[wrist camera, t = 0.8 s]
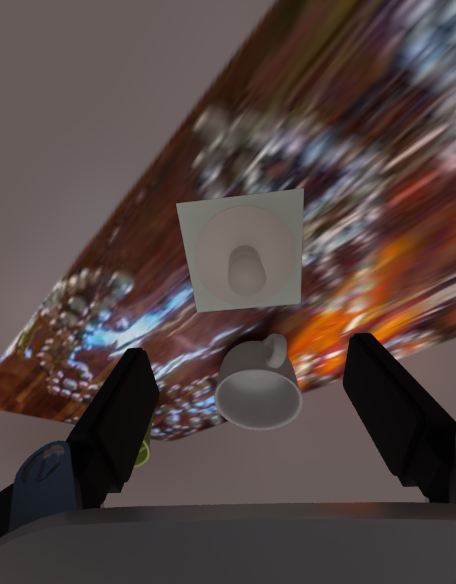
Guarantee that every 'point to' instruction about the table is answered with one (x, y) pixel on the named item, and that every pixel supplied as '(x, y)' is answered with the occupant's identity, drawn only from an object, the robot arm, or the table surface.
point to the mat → (278, 203)
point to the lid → (244, 255)
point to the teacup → (258, 385)
